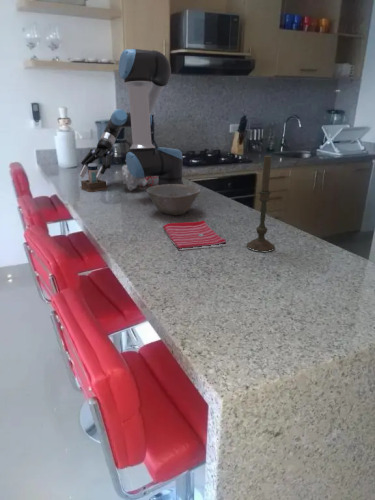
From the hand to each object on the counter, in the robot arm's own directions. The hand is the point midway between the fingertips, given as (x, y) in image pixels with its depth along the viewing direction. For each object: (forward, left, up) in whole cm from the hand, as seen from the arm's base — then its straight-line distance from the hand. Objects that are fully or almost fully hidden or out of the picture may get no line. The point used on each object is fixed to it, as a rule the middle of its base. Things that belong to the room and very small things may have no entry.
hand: (89, 177), depth 200 cm
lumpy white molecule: (-11, -24, -7) cm, 27 cm away
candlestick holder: (-111, -1, -7) cm, 111 cm away
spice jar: (+1, -3, -6) cm, 6 cm away
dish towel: (-89, +9, -8) cm, 90 cm away
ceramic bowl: (-61, -6, -7) cm, 62 cm away
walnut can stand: (+1, -3, -7) cm, 7 cm away
